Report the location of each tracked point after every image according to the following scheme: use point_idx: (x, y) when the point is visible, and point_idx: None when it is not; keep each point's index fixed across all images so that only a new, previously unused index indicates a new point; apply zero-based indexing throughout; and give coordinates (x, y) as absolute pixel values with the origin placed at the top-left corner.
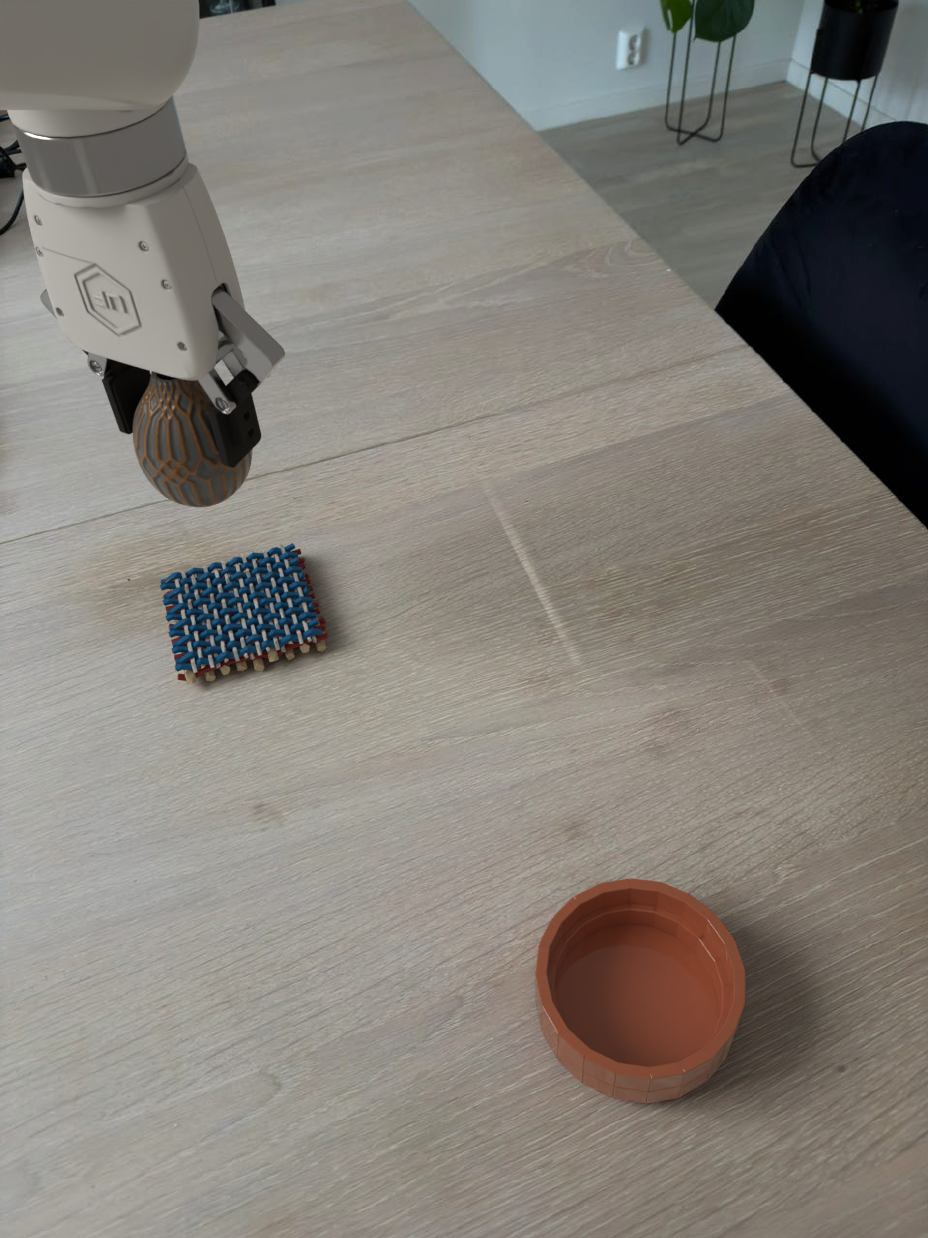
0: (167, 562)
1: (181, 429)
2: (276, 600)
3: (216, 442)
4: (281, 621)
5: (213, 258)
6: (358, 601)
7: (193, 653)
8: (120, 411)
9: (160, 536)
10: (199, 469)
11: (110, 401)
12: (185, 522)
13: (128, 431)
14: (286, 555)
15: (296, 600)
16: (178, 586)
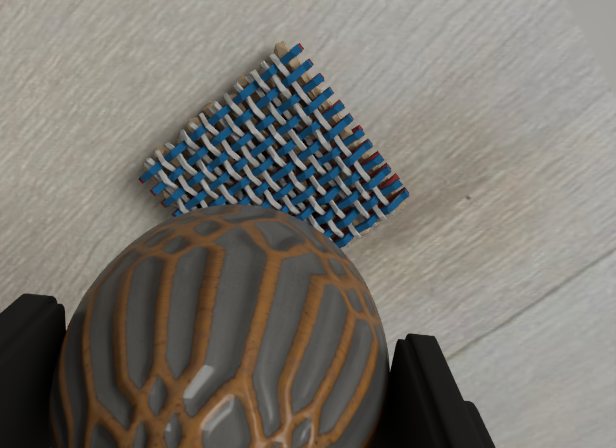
0: (430, 240)
1: (117, 354)
2: None
3: (15, 343)
4: (199, 175)
5: None
6: None
7: (287, 80)
8: (426, 386)
9: (462, 278)
10: (114, 262)
11: (460, 410)
12: (441, 309)
13: (406, 340)
14: None
15: None
16: (376, 191)
